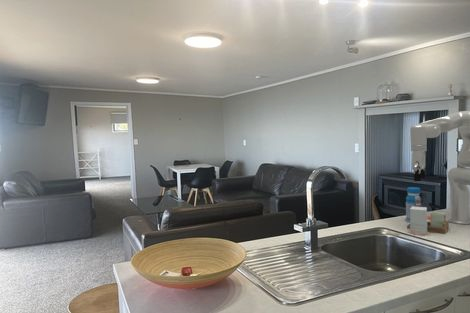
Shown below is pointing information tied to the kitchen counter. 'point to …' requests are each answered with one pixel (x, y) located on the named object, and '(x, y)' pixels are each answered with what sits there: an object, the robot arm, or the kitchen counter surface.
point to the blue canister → (412, 200)
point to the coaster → (418, 233)
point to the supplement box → (418, 219)
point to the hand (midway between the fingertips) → (419, 179)
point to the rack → (437, 223)
